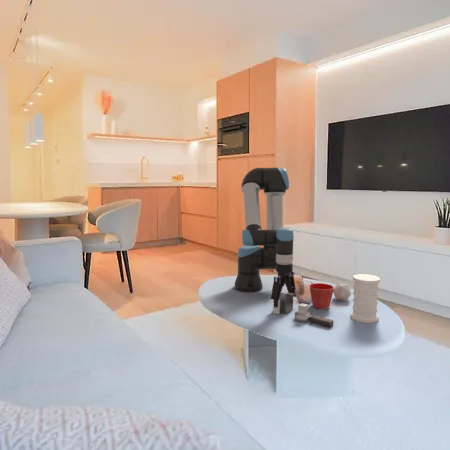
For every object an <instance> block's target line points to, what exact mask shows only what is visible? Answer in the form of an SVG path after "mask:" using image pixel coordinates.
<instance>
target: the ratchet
mask: <svg viewBox="0 0 450 450" xmlns="http://www.w3.org/2000/svg"><path fill="white" fill-rule="evenodd" d="M297 308H298V311H295V312H294V321H296V322H299V323H310V324H314V325H317V326H322V327H324V328H328V329H331V328H332V327H334V320H333V319H331V318H328V317H323V316H319V315H314V314H313V315H312V313H311V312H309V304H306V303H302V302H301V303H300V304H298V307H297Z"/></svg>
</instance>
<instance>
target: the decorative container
mask: <svg viewBox="0 0 450 450" xmlns="http://www.w3.org/2000/svg"><path fill="white" fill-rule="evenodd" d="M352 281H354V283H353V291H352V294H353V298H352V311H351V312H350V313H349V314H350V315H349V316H350V319H352V320H353V321H356V322H358V323H363V324H374V323H377V322H379V320H380V316H379V315H378V314H377V313H378V303H379V301H378V298H379V292H378V291H379V283H381V278H380V277H379V276H378V275H373V274H367V273H359V274H354V275H353V276H352Z"/></svg>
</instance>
